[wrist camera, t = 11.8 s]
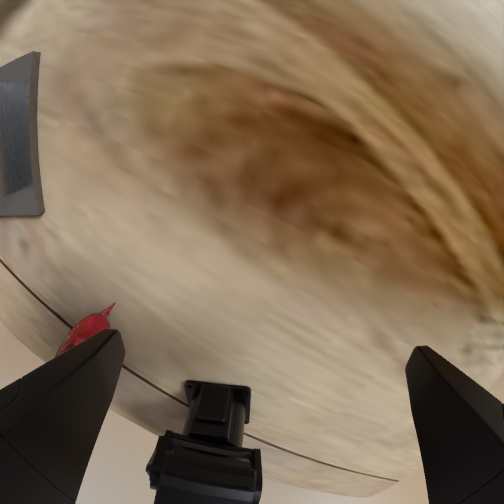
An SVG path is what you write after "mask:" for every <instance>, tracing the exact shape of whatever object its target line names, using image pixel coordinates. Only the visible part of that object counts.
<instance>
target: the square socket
mask: <svg viewBox="0 0 504 504" xmlns="http://www.w3.org/2000/svg"><path fill="white" fill-rule="evenodd" d="M39 62H40V52H34V51H33V52H30V53H28V54H26V55H24V56H22V57H20V58H18V59H16V60H14V61H12V62H10V63H8V64H6V65H4V66H2V67H0V216H15V215H39V214H41V213H43V212H45V210H44V203H43V196H42V188H41V179H40V169H39V157H38V140H37V90H38V73H39Z"/></svg>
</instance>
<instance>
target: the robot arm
mask: <svg viewBox="0 0 504 504" xmlns="http://www.w3.org/2000/svg"><path fill="white" fill-rule="evenodd" d="M124 357H125V348H124V344H123V341H122V337H121V334H120V332H119V330H117V329H112V328H105V329H103V330H102V331H100V332H98V333H97V334H95V335H93V336H91V337H90V338H88V339H86V340H85V341H83V342H81V343H79V344H78V345H76V346H74V347H73V348H71V349H69V350H67V351H66V352H64V353H62V354H61V355H59V356H57V357H55V358H54V359H52V360H50V361H49V362H47V363H45V364H44V365H42V366H40V367H39V368H37V369H35V370H33V371H32V372H30V373H28V374H27V375H25V376H23V377H22V379H21V378H20V379H18V380H16V381H15V382H13V383H11V384H9V385H8V386H6V387H4V388H3V389H1V390H0V504H75V503H76V502H75V501H76V499H77V496H78V493H79V489H80V486H81V483H82V480H83V477H84V474H85V471H86V468H87V465H88V462H89V459H90V457H91V454H92V450H93V448H94V445H95V443H96V440H97V437H98V434H99V432H100V429H101V426H102V424H103V421H104V418H105V416H106V413H107V411H108V408H109V406H110V403H111V401H112V398H113V395H114V392H115V389H116V385H117V381H118V378H119V374H120V371H121V367H122V364H123V361H124ZM405 372H406V378H407V384H408V391H409V398H410V405H411V411H412V416H413V420H414V424H415V429H416V433H417V438H418V442H419V447H420V452H421V457H422V462H423V467H424V473H425V479H426V486H427V492H428V499H429V504H504V404H502V403H501V401H499V400H498V399H497V398H495V397H494V396H493V395H492V394H490V393H489V392H488V391H487V390H485V389H484V388H483V387H481V386H480V385H479V384H477V383H476V382H475V381H474V380H472V379H471V378H470V377H468V376H467V375H466V374H464V373H463V372H462V371H460V370H459V369H458V368H457V367H455V366H454V365H453V364H451V363H450V362H449V361H447V360H446V359H445V358H443V357H442V356H441V355H439V354H438V353H437V352H435V351H434V350H432V349H431V348H430V347H428V346H417V347H415V348H414V349H413V352H412V354H411V356H410V358H409V360H408V362H407V365H406V369H405ZM185 390H186V395H187V400H188V405H189V411H188V415H187V418H186V422H185V426H184V430H183V434H182V435H181V434H178V433H174V432H172V431H170V430H166V433H165V435H164V436H159V439H158V442H157V445H156V448H155V451H154V453H153V455H152V457H151V458H150V460H149V462H148V464H147V467H146V472H147V473H148V475H149V476H150V479H149V480H150V488H151V489H154V490H157V491H156V496H155V500H154V504H259V501H260V497H261V492H262V466H261V452H260V449H255V448H254V449H249V448H243V447H242V442H243V432H244V424H248V423H249V416H250V398H251V389H250V388H249V387H245V386H233V385H222V384H213V383H204V382H196V381H186V383H185Z"/></svg>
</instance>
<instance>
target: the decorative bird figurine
mask: <svg viewBox="0 0 504 504" xmlns="http://www.w3.org/2000/svg"><path fill="white" fill-rule="evenodd" d="M114 305H115V303H114V304H113V305H112V306H110V307H109V308H108V309H106V310H104V311H103V312H102V313H101V314H92V315H89V316H87V317H86V318H84V319H83V320H81V321H80V322H79V323H78V324H77V325H76V326H75V327H74V328H73V329H72V330H71V331H70V333H69V334H68V335H67V336H66V338H65V339H64V341H63V342H62V344H61V346H60V347H59V349H58V351H57V354H56V356H55V357H57V356H59V355H61V354H62V353H64V352H66V351H67V350H69V349H71V348H73V347H74V346H76V345H78V344H79V343H81V342H83V341H85V340H86V339H88V338H90V337H91V336H93V335H95V334H97V333H98V332H100V331H102V330H103V329H105V328H110V324H109V322H108V320H107V319H106V317H107V316H108V315H109V312H110V310H111V309H112V308H113V306H114Z"/></svg>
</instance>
